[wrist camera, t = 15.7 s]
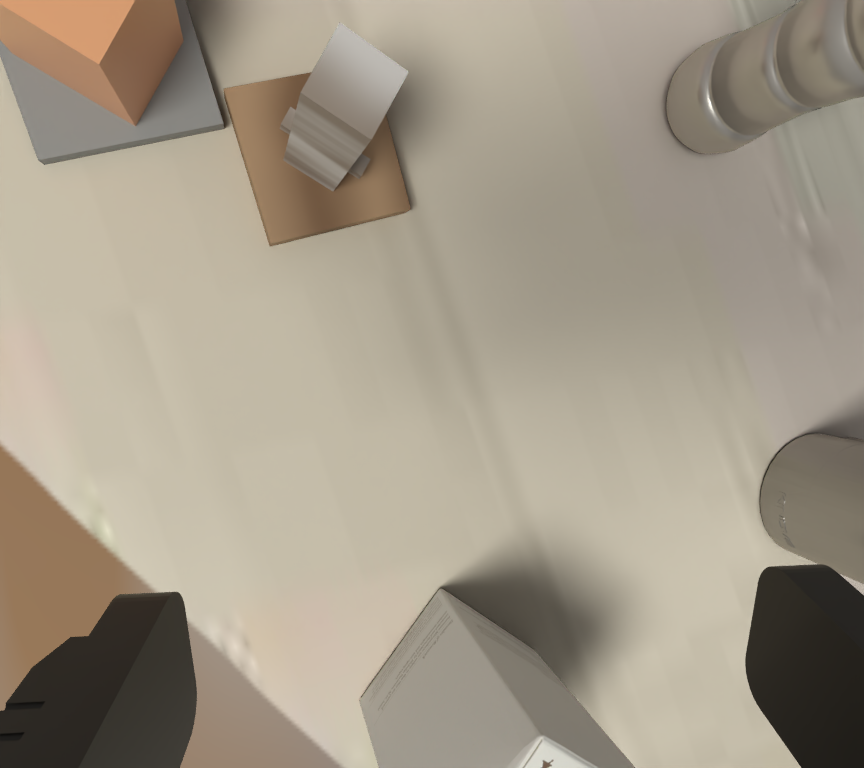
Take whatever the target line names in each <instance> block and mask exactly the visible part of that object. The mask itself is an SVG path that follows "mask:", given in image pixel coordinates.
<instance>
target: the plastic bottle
mask: <svg viewBox="0 0 864 768" xmlns="http://www.w3.org/2000/svg"><path fill="white" fill-rule="evenodd" d="M858 97H864V0H802V1H800V2H799V3H798V4H796V5H794V6H792V7H791V8H789V9H787V10H786V11H784V12H783V13H781V14H780V15H777V16H775V17H773V18H771V19H768V20H766V21H764V22H762V23H760V24H757V25H755V26H753V27H751V28H749V29H746V30H744V31H741V32H736V33H732V34H728V35H725V36H723V37H720V38H718V39H715V40H713V41H710V42H708V43H706V44H704V45H702V46H701V47H700V48H698V49H697V50H696V51H695V52H694V53H693V54H691V55H690V56H689V57H688V58H687V59H686V60H685V61H684V62H683V63H682V64H681V65H680V66H679V68H678V69H677V71H676V72H675V74H674V76H673V78H672V81H671V84H670V87H669V91H668V96H667V105H666V110H667V117H668V121H669V124H670V127H671V129H672V131H673V133H674V134H675V136H676V137H677V138H678V140H680V141H681V142H682V143H683V144H684V145H685V146H687V147H688V148H690V149H691V150H693V151H695V152H698V153H702V154H715V153H725V152H730V151H734V150H736V149H738V148H740V147H742V146H744V145H746V144H747V143H749V142H751V141H753V140H755V139H757V138H758V137H760V136H761V135H763V134H764V133H766V132H767V131H768V130H770V129H772V128H774V127H776V126H779V125H781V124H783V123H785V122H787V121H789V120H791V119H793V118H796V117H798V116H800V115H802V114H804V113H807V112H810V111H814V110H817V109H820V108H822V107H826V106H830V105H833V104H837V103H840V102H843V101H847V100H850V99H853V98H858Z"/></svg>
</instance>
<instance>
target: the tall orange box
mask: <svg viewBox="0 0 864 768" xmlns="http://www.w3.org/2000/svg"><path fill="white" fill-rule="evenodd" d="M0 40H1V42H2V43H3V44H4V45H5V46H6V47H7V48H8V49H9V50H10V52H11V53H12V54H14V55H16V56H17V57H19V58H21V59H22V60H24V61H26V62H27V63H29V64H31V65H32V66H34V67H36V68H38V69H39V70H41V71H43V72H44V73H46V74H48V75H49V76H51V77H53V78H54V79H56V80H58V81H59V82H61V83H63V84H65V85H66V86H68V87H70V88H71V89H73V90H75V91H76V92H78V93H80V94H81V95H83V96H85V97H87V98H88V99H90V100H92V101H93V102H95V103H97V104H98V105H100V106H102V107H103V108H105V109H107V110H108V111H110V112H112V113H114V114H115V115H117V116H119V117H120V118H122V119H124V120H125V121H127V122H129V123H130V124H132V125H134V126H136V125H137V123H138V121H139V120H140V118H141V116H142V114H143V112H144V111H145V109H146V107H147V105H148V103H149V102H150V100H151V98H152V96H153V95H154V93H155V91H156V89H157V87H158V86H159V84H160V82H161V80H162V79H163V77H164V75H165V73H166V71H167V70H168V68H169V66H170V64H171V62H172V61H173V59H174V57H175V55H176V54H177V52H178V50H179V48H180V46H181V45H182V43H183V41H184V40H183V36H182V31H181V27H180V23H179V18H178V14H177V9H176V5H175V0H0Z"/></svg>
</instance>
